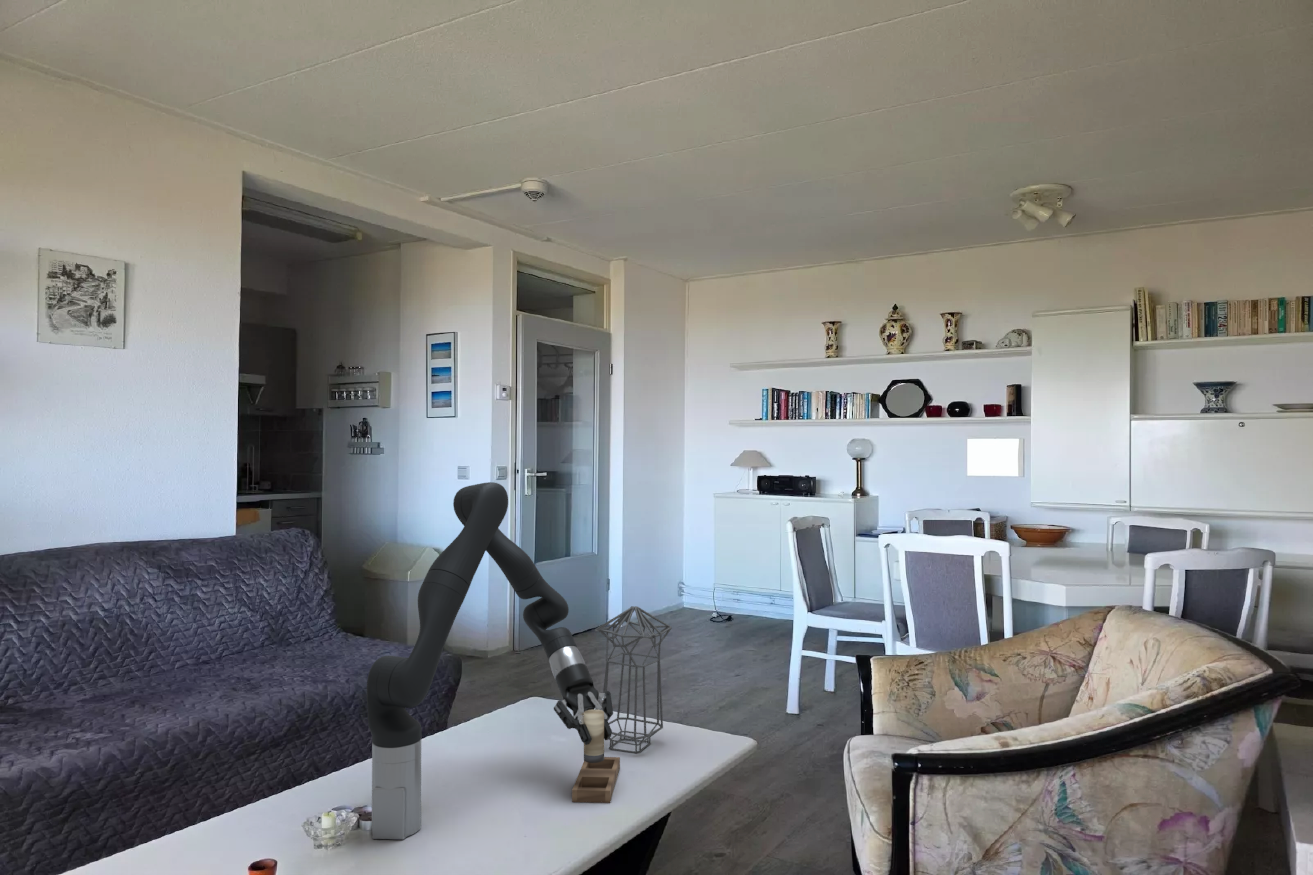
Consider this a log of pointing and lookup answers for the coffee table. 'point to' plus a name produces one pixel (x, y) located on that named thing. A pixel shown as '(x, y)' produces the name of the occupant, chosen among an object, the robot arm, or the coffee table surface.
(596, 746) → the banded peg
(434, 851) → the coffee table surface
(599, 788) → the socket block
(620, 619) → the geometric lantern
